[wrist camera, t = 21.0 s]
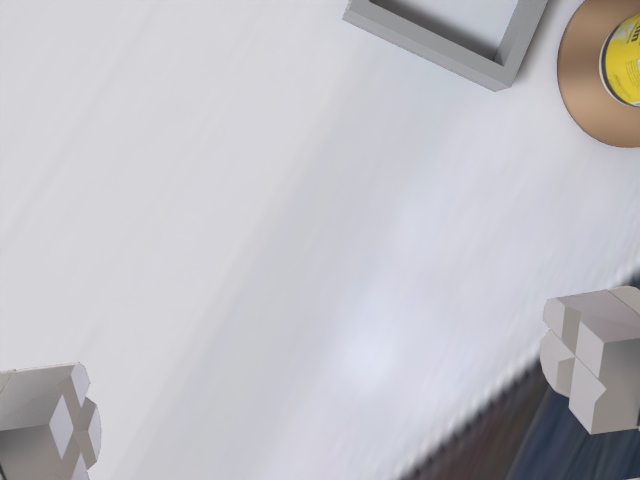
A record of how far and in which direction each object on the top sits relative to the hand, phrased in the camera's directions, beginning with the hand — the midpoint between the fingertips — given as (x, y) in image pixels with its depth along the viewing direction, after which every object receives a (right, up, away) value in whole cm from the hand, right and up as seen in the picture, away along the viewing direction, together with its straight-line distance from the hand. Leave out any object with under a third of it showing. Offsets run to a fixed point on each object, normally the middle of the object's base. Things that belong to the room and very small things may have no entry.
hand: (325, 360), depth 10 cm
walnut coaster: (+23, +15, +32) cm, 42 cm away
